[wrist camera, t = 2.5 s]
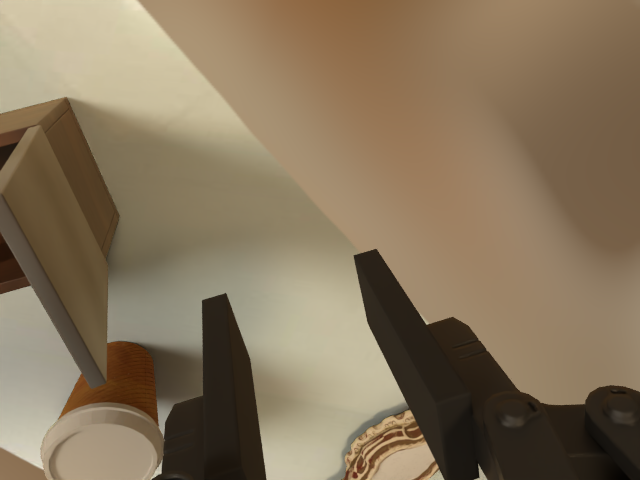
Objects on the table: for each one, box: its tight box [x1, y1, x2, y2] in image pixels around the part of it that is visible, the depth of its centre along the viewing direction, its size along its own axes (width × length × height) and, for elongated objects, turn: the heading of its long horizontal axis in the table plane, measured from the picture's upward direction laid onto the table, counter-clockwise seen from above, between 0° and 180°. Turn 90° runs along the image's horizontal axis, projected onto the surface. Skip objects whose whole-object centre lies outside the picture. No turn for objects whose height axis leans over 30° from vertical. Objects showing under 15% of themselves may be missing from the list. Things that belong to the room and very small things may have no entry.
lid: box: [0, 125, 108, 389], centre depth 29 cm, size 14×11×1 cm
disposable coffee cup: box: [41, 341, 164, 480], centre depth 47 cm, size 10×10×12 cm
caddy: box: [0, 97, 119, 294], centre depth 39 cm, size 13×11×9 cm
